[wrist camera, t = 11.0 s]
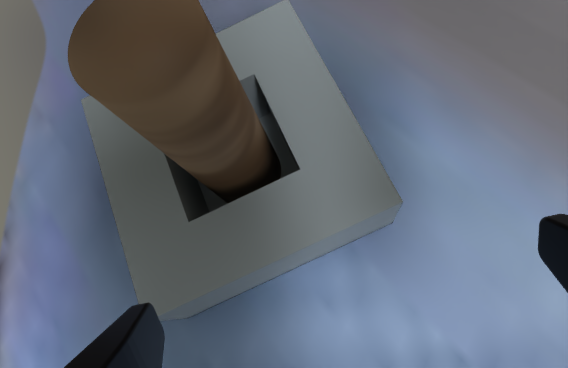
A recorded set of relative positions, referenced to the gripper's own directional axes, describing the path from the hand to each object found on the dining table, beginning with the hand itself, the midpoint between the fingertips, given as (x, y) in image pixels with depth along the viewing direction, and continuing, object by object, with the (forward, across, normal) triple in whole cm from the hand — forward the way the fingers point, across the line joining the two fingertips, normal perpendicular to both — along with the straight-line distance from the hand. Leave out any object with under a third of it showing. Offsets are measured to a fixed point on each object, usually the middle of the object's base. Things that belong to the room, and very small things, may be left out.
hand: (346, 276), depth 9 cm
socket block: (+16, +3, +3) cm, 16 cm away
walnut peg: (+15, +3, +2) cm, 16 cm away
